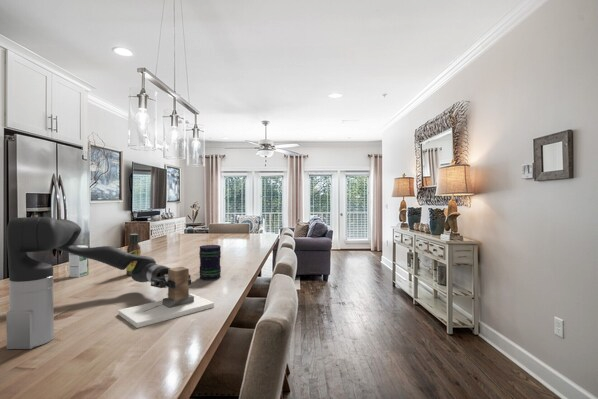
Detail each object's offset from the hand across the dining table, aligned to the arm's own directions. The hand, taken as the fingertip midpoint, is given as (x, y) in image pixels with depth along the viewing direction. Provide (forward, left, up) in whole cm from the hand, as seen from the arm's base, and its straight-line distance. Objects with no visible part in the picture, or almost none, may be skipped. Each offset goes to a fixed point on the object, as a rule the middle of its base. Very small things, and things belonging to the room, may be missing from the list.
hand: (182, 283), depth 115 cm
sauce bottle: (+53, +42, -9) cm, 68 cm away
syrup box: (+50, +67, -9) cm, 84 cm away
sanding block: (+2, +2, -7) cm, 8 cm away
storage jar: (+45, +2, -9) cm, 46 cm away
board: (-1, +5, -9) cm, 10 cm away
